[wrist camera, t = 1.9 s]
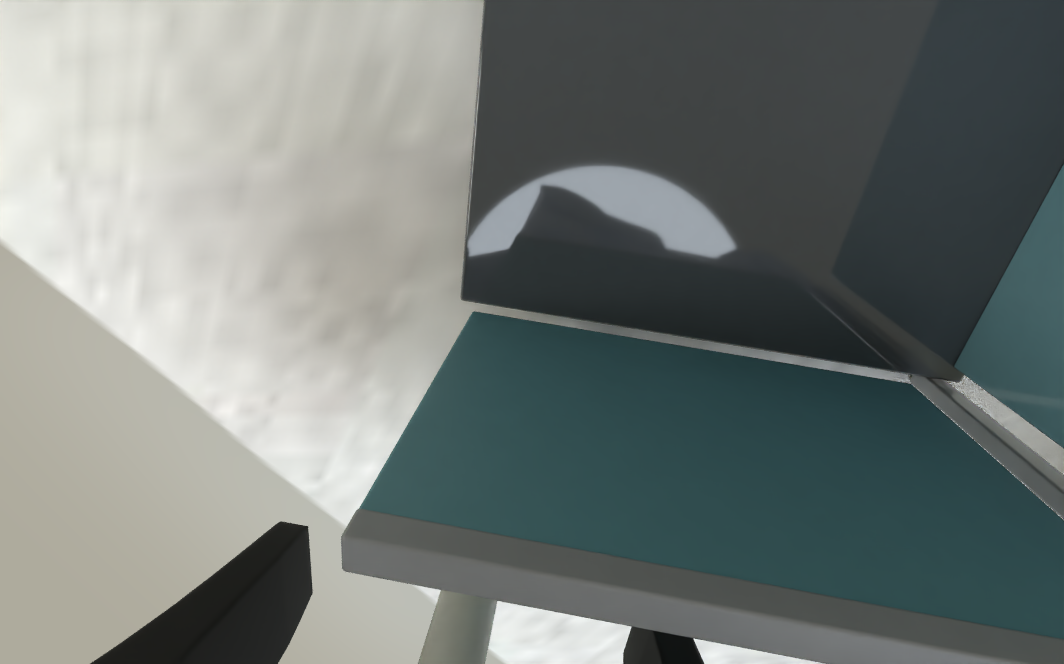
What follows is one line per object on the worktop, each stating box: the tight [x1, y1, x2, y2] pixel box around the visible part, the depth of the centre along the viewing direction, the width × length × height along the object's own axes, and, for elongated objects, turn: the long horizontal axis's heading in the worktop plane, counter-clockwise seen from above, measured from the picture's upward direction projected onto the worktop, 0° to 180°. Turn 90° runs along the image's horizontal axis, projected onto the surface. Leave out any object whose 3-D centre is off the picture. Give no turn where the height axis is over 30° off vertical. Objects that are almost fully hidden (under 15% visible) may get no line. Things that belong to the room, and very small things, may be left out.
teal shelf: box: [341, 311, 1064, 664], centre depth 10 cm, size 5×10×7 cm, turn 82°
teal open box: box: [461, 0, 1064, 519], centre depth 7 cm, size 12×12×8 cm
